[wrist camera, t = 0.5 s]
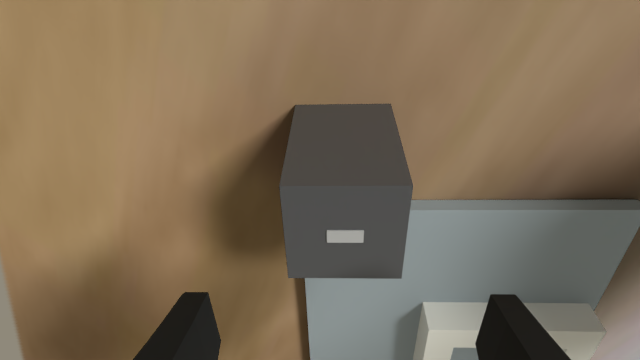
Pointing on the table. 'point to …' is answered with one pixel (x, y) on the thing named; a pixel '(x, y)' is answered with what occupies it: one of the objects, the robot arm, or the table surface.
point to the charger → (345, 193)
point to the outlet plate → (477, 279)
